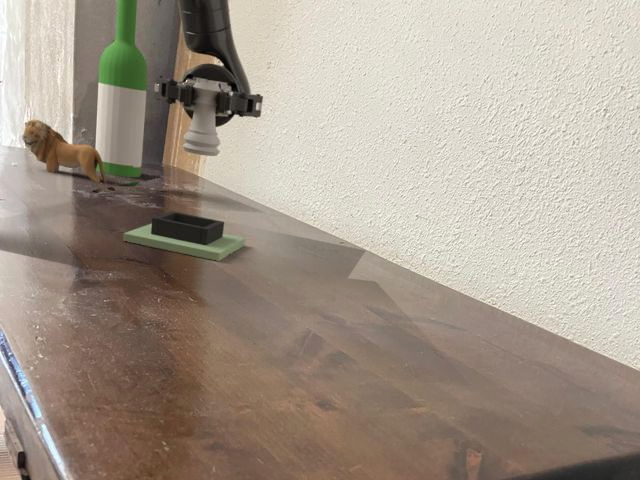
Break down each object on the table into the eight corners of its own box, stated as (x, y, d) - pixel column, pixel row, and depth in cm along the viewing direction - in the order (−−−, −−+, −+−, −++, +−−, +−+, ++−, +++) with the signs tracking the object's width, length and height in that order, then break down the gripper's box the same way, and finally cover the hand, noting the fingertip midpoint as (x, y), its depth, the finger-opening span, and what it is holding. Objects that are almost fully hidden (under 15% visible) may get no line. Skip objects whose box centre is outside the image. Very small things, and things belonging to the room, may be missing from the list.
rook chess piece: (218, 153, 91) (226, 82, 88) (220, 158, 87) (228, 84, 84) (181, 147, 90) (188, 75, 87) (181, 152, 86) (188, 76, 83)
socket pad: (123, 241, 90) (124, 216, 89) (159, 227, 101) (160, 205, 99) (218, 261, 89) (221, 236, 88) (244, 245, 100) (247, 223, 98)
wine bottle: (86, 176, 130) (94, -20, 118) (128, 180, 135) (140, -8, 122) (104, 185, 125) (115, -19, 112) (147, 189, 129) (162, -7, 117)
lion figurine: (16, 179, 116) (16, 117, 112) (29, 176, 120) (30, 116, 117) (110, 196, 116) (113, 135, 112) (120, 192, 121) (123, 134, 117)
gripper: (159, 53, 96) (143, 50, 81) (267, 74, 99) (272, 75, 83) (155, 115, 99) (138, 124, 84) (260, 134, 102) (262, 145, 86)
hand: (205, 99), depth 84 cm, fingers closed on rook chess piece, 3 cm apart
